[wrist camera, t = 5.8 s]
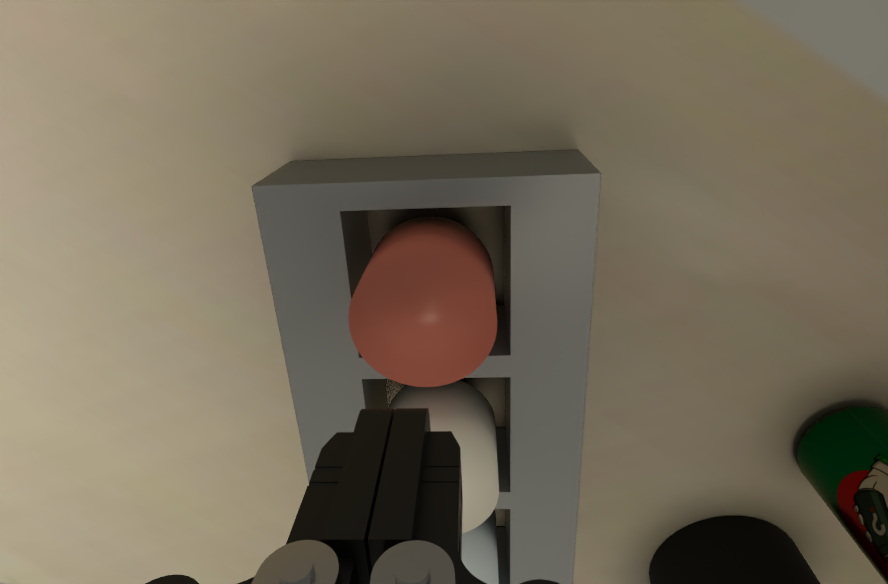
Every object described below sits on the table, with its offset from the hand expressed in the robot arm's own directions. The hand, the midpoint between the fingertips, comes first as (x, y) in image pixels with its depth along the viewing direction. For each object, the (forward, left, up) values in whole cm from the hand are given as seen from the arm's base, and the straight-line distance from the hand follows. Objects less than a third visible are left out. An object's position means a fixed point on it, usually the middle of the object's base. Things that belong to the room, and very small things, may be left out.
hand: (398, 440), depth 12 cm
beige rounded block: (0, +7, -10) cm, 12 cm away
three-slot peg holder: (0, +7, -13) cm, 15 cm away
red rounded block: (0, 0, -10) cm, 10 cm away
